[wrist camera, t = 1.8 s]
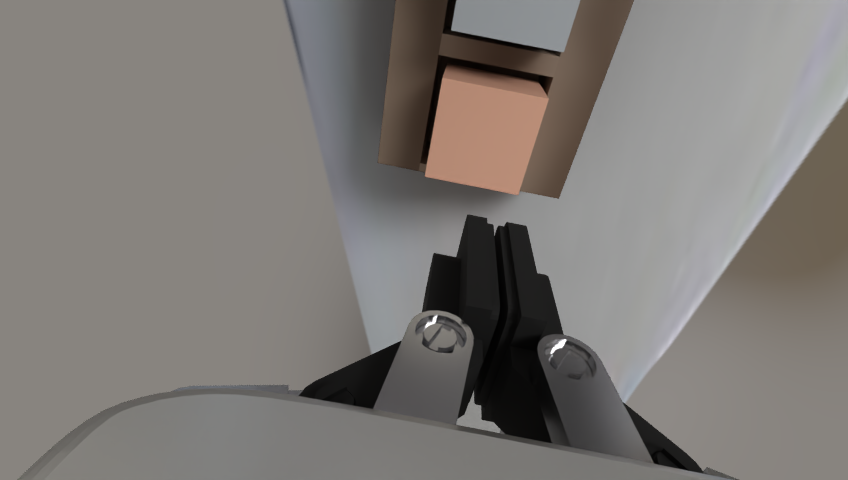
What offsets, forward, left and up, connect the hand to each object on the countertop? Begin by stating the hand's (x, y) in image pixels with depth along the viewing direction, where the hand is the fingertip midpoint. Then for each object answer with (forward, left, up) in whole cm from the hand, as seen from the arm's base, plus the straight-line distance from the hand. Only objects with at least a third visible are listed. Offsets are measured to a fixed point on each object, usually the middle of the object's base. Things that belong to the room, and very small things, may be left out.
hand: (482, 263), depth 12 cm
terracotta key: (0, 0, -14) cm, 14 cm away
